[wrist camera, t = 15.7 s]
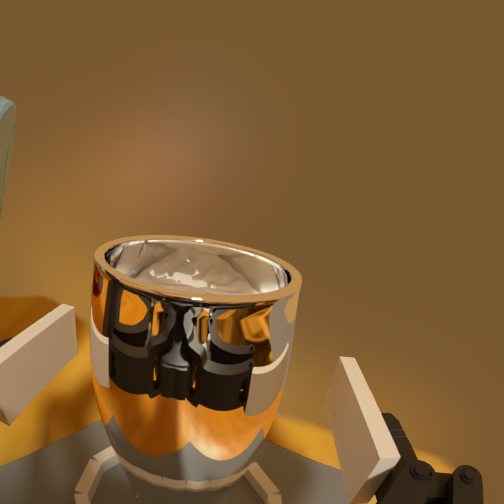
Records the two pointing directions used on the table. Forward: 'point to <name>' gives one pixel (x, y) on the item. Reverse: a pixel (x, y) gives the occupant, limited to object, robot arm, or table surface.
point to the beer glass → (188, 360)
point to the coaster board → (117, 485)
